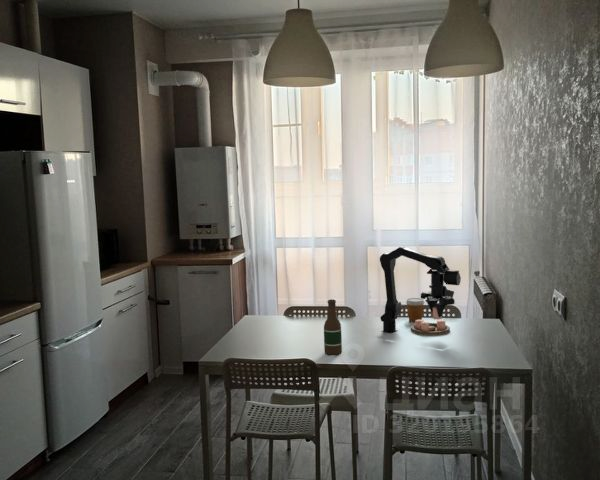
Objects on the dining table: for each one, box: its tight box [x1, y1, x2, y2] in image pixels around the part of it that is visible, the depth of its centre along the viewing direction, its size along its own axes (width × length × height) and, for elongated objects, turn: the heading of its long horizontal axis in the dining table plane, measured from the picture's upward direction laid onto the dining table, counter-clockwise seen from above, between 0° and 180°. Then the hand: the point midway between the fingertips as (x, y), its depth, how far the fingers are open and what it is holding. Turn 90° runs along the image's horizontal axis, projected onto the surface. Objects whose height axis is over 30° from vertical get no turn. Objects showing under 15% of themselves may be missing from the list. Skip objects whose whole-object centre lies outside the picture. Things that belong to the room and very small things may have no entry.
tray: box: [410, 322, 451, 337], centre depth 297 cm, size 18×18×2 cm
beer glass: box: [405, 297, 425, 323], centre depth 317 cm, size 10×10×12 cm
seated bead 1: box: [414, 319, 425, 331], centre depth 298 cm, size 4×4×5 cm
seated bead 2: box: [421, 321, 430, 331], centre depth 293 cm, size 4×4×5 cm
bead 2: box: [436, 319, 446, 331], centre depth 295 cm, size 4×4×5 cm
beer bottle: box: [323, 298, 343, 356], centre depth 266 cm, size 8×8×24 cm
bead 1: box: [432, 307, 442, 320], centre depth 285 cm, size 4×4×5 cm
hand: (437, 316), depth 285 cm, fingers closed on bead 1, 4 cm apart
